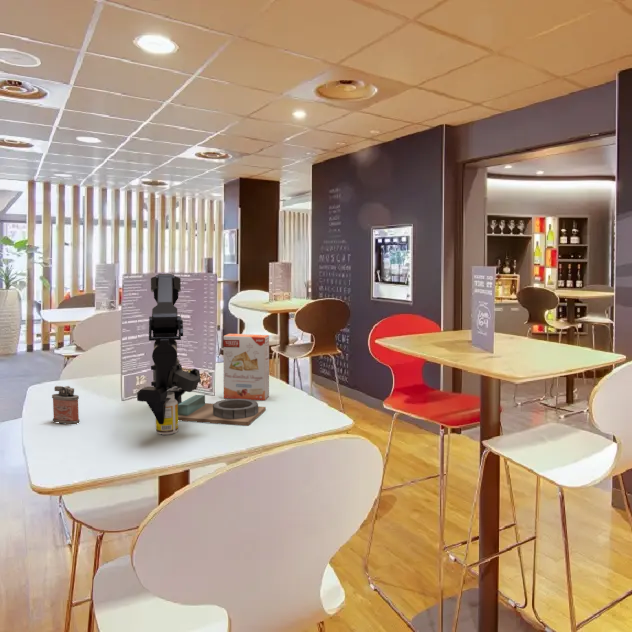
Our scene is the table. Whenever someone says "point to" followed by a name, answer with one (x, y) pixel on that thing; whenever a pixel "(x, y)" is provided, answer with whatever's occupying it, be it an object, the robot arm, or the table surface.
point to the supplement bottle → (169, 417)
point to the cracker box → (246, 366)
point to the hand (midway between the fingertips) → (166, 420)
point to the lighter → (65, 405)
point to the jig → (219, 411)
